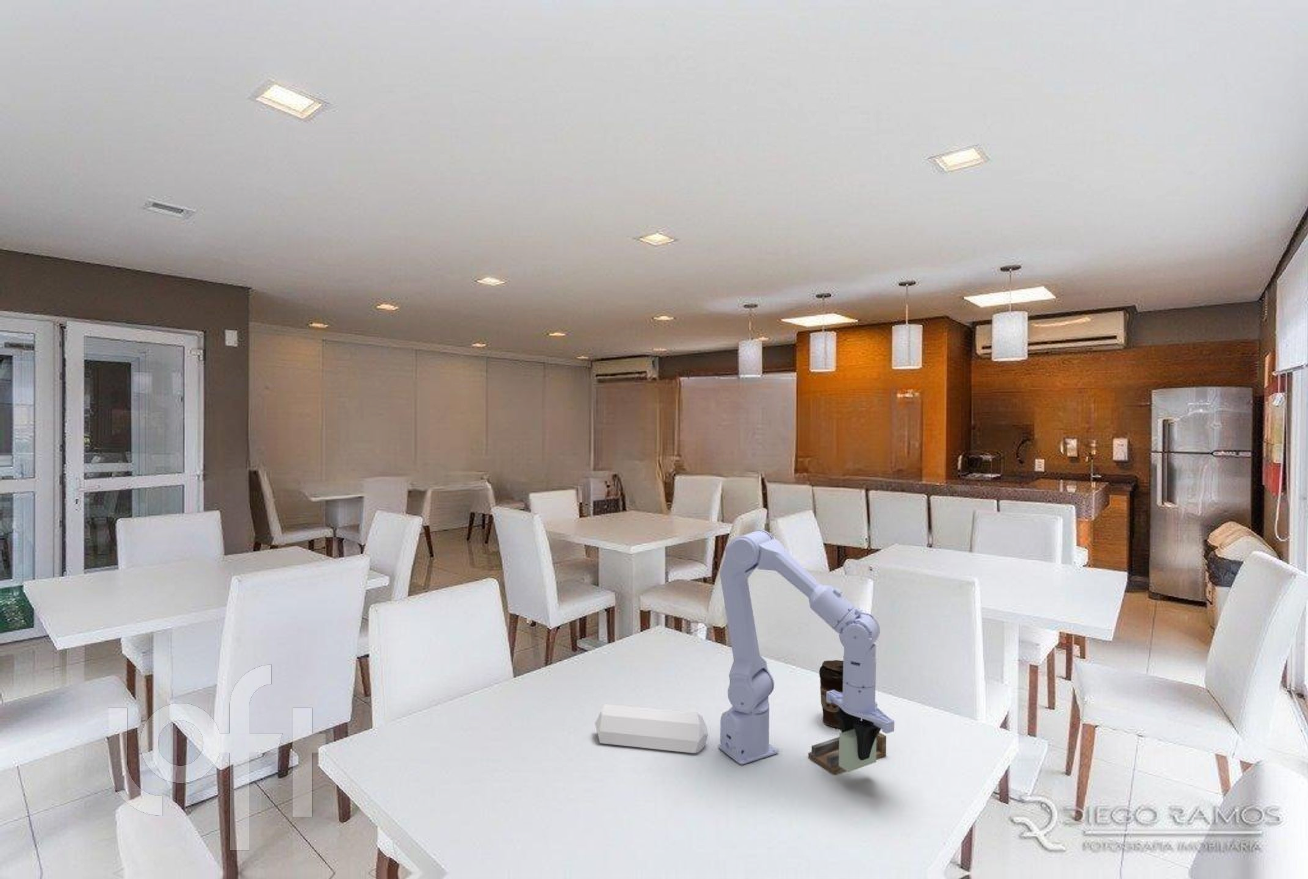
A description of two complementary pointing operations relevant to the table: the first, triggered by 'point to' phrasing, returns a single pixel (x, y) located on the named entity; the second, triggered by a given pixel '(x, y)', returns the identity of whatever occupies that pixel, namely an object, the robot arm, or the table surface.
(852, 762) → the door panel
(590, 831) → the table surface
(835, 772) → the track sill
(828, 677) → the coffee cup
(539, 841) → the table surface
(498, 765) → the table surface
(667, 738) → the crystal
